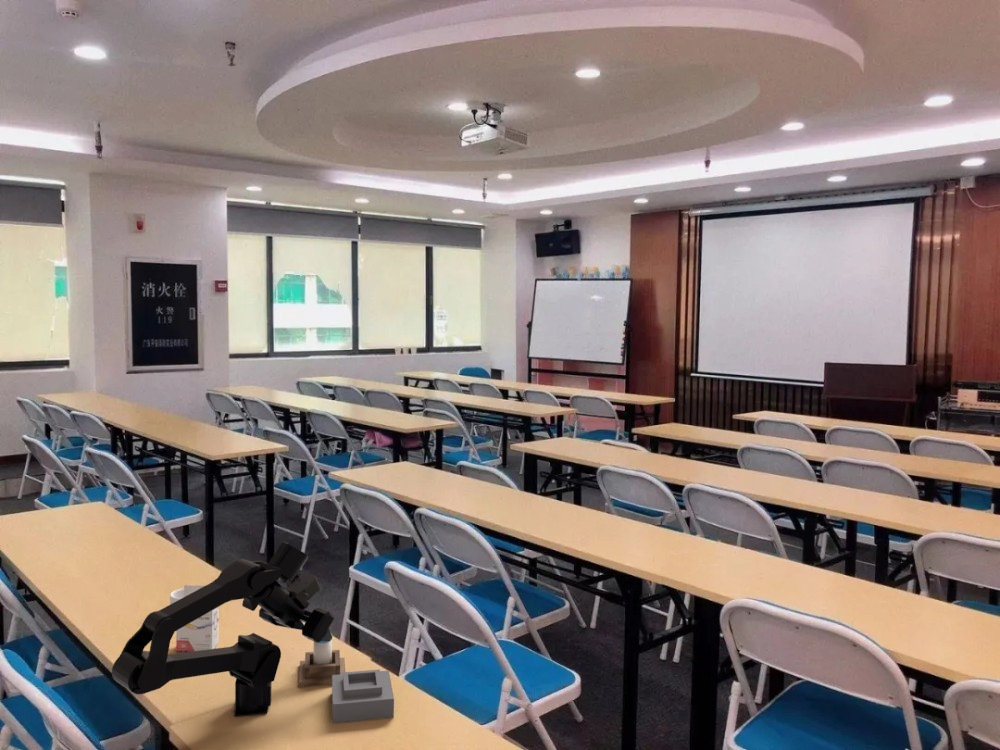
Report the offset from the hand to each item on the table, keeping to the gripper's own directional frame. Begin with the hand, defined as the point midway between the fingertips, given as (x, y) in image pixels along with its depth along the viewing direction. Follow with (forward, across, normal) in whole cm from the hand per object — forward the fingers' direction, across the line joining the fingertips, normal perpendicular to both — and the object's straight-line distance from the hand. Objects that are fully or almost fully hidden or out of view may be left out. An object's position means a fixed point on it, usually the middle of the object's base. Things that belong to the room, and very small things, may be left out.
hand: (316, 633), depth 165 cm
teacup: (+8, +54, +6) cm, 55 cm away
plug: (+8, 0, +5) cm, 9 cm away
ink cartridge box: (+1, +33, +13) cm, 35 cm away
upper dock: (+6, -17, +8) cm, 19 cm away
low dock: (+8, 0, +6) cm, 10 cm away
